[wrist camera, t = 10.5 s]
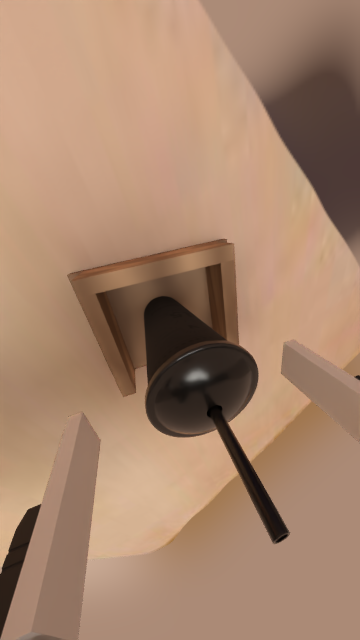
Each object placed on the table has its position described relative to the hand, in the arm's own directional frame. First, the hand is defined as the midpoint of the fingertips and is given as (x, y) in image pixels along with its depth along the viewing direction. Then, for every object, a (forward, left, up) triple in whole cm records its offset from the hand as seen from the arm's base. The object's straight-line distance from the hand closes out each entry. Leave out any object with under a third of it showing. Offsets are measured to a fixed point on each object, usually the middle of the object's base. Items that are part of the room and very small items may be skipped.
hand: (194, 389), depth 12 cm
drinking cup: (0, 0, -13) cm, 13 cm away
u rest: (0, 0, -14) cm, 14 cm away
